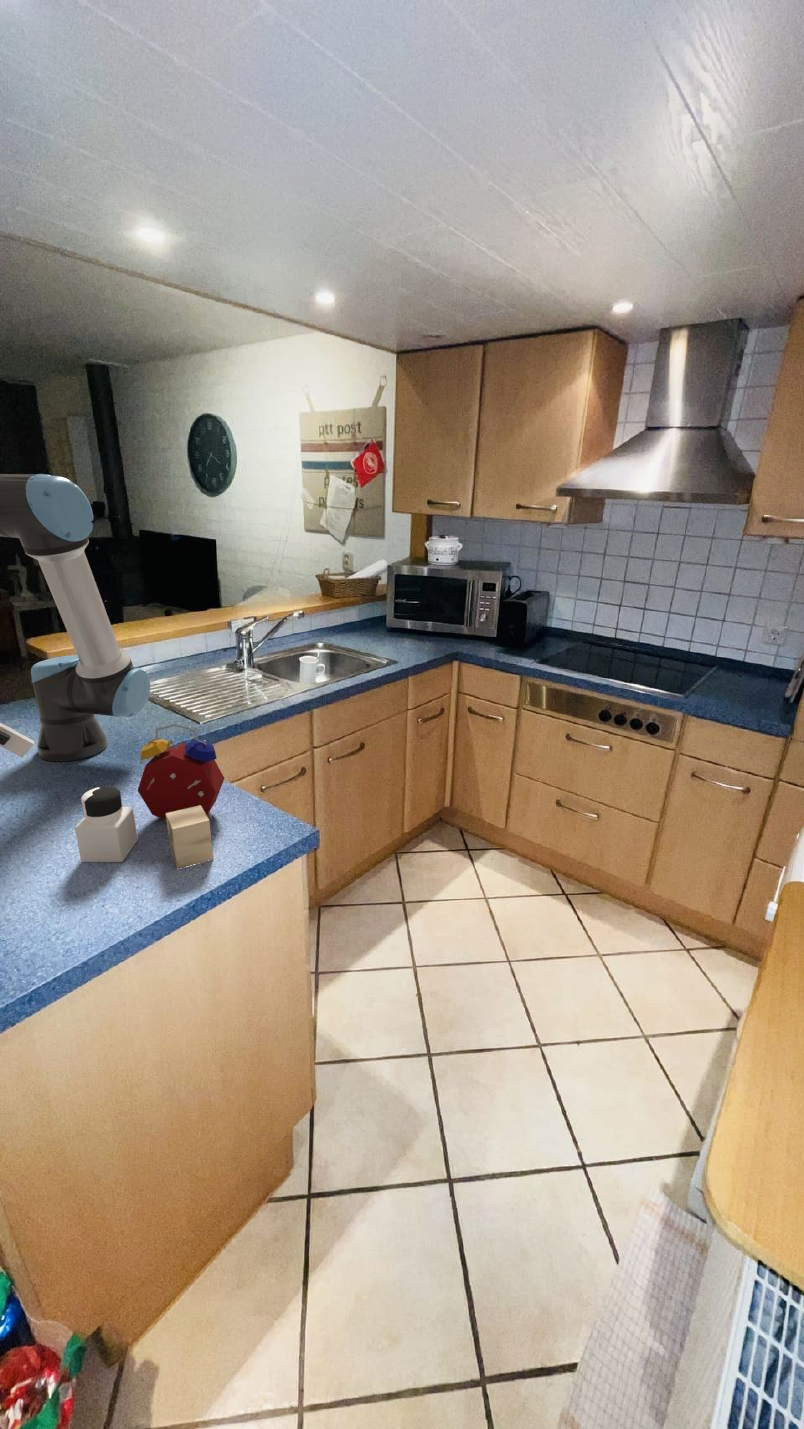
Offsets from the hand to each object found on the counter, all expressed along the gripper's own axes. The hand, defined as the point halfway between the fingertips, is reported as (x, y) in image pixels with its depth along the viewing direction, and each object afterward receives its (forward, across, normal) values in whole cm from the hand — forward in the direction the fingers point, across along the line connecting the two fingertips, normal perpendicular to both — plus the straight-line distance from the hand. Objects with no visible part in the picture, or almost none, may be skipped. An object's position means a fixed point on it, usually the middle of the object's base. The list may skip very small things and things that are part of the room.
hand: (28, 749), depth 92 cm
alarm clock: (+32, -5, 0) cm, 32 cm away
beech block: (+31, +8, 0) cm, 32 cm away
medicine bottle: (+22, 0, -9) cm, 24 cm away
